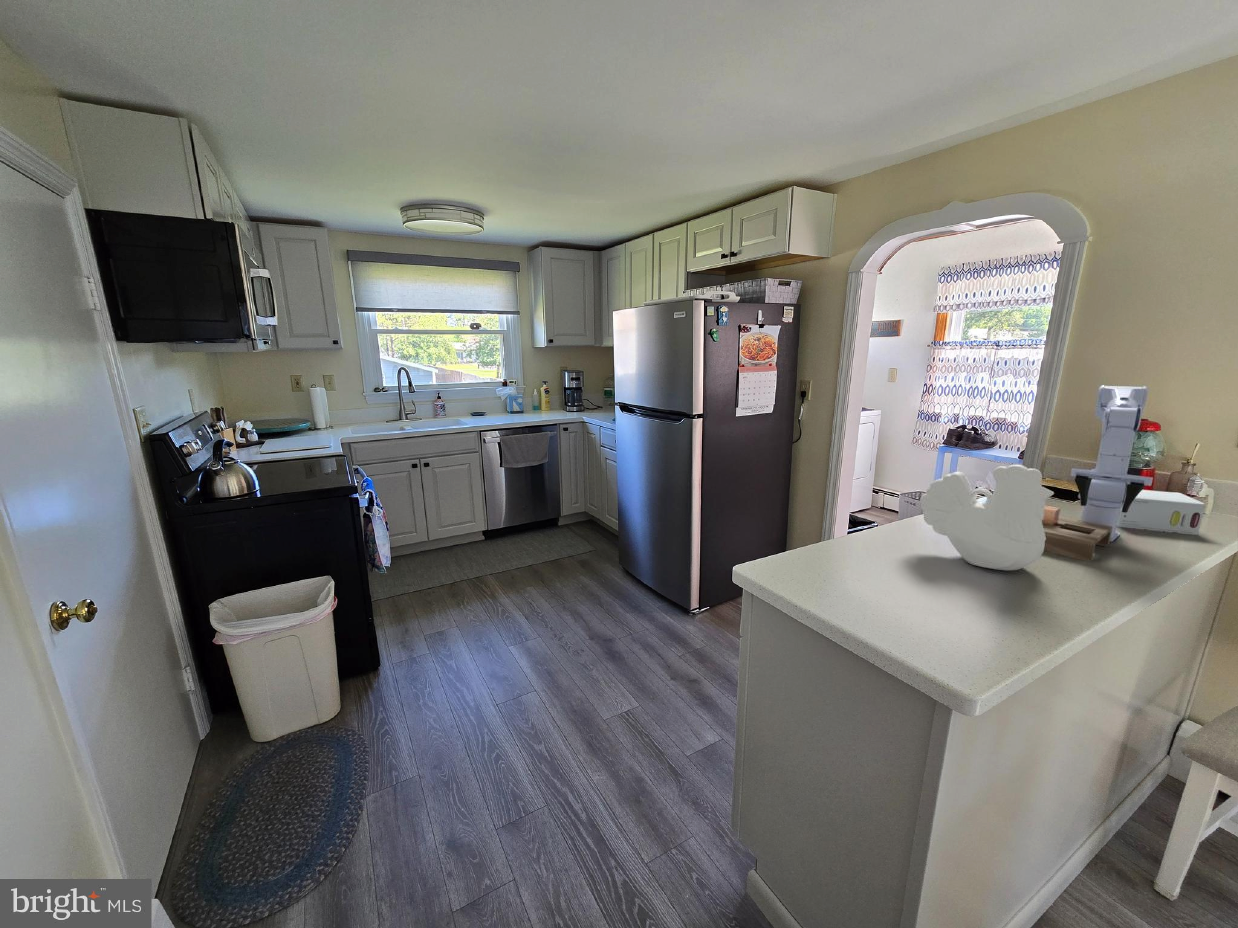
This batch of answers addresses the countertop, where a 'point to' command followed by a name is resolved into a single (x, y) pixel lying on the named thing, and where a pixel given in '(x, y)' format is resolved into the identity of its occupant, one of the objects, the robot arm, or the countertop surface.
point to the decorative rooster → (991, 517)
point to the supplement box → (1163, 512)
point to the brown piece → (1051, 515)
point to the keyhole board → (1075, 538)
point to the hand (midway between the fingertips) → (1103, 508)
